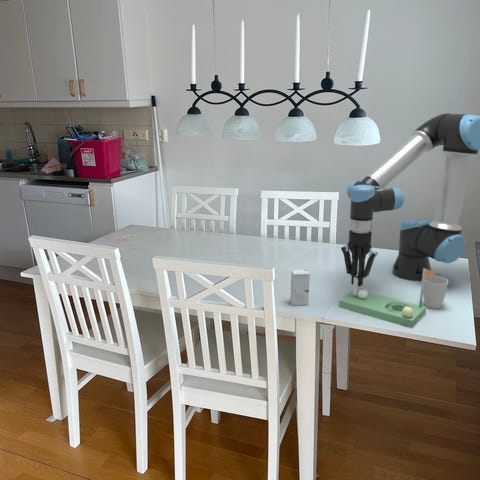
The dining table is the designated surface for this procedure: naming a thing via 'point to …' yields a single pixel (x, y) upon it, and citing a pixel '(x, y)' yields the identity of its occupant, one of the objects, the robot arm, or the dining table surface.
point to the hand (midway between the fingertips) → (356, 293)
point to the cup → (434, 291)
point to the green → (383, 308)
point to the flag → (425, 273)
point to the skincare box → (299, 287)
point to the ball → (362, 293)
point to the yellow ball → (407, 311)
